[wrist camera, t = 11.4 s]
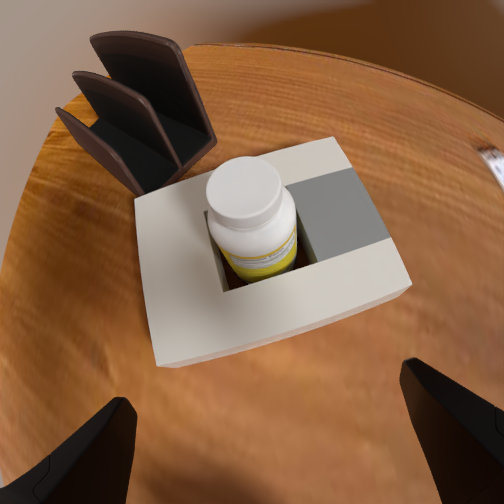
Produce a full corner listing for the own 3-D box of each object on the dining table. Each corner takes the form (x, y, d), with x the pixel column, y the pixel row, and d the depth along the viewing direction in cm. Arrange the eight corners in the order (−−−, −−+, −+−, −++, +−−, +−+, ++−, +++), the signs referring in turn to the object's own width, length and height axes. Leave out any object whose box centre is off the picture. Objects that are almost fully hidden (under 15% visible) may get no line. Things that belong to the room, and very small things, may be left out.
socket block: (396, 297, 21) (412, 284, 18) (176, 367, 21) (156, 366, 18) (330, 161, 27) (333, 136, 23) (150, 218, 27) (134, 199, 24)
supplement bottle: (234, 225, 25) (203, 147, 16) (298, 227, 24) (297, 145, 15) (226, 286, 23) (183, 229, 14) (295, 290, 22) (295, 232, 13)
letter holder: (129, 101, 37) (91, 28, 24) (220, 144, 30) (181, 28, 17) (79, 145, 35) (27, 77, 22) (151, 209, 28) (72, 105, 15)
